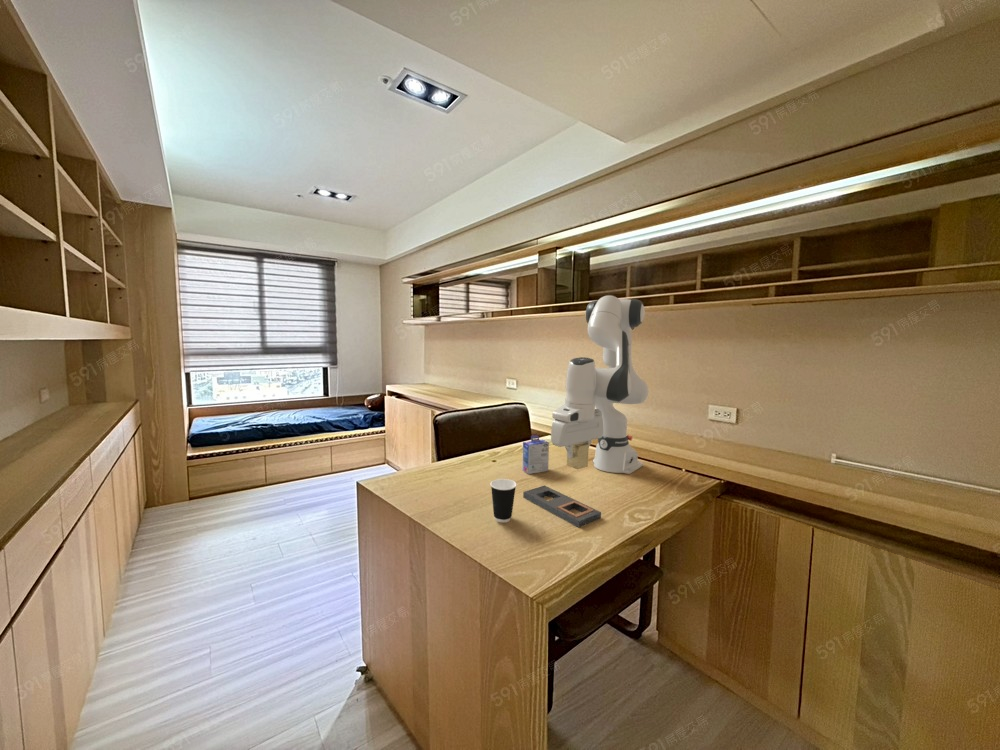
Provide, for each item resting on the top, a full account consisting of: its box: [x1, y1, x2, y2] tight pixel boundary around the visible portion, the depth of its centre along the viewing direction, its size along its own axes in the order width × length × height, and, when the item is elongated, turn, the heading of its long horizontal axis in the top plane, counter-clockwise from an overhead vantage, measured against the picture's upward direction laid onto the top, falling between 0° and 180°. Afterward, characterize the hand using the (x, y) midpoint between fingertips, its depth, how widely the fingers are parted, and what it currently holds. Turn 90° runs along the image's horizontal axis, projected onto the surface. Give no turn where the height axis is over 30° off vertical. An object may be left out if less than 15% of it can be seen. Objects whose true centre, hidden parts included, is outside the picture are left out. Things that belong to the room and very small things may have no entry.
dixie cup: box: [489, 478, 517, 523], centre depth 114 cm, size 8×8×11 cm
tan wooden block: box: [566, 442, 590, 470], centre depth 116 cm, size 4×4×7 cm
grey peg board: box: [522, 485, 602, 529], centre depth 123 cm, size 10×25×2 cm, turn 37°
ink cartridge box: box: [522, 434, 550, 475], centre depth 155 cm, size 10×6×14 cm, turn 116°
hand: (577, 455), depth 116 cm, fingers closed on tan wooden block, 4 cm apart
